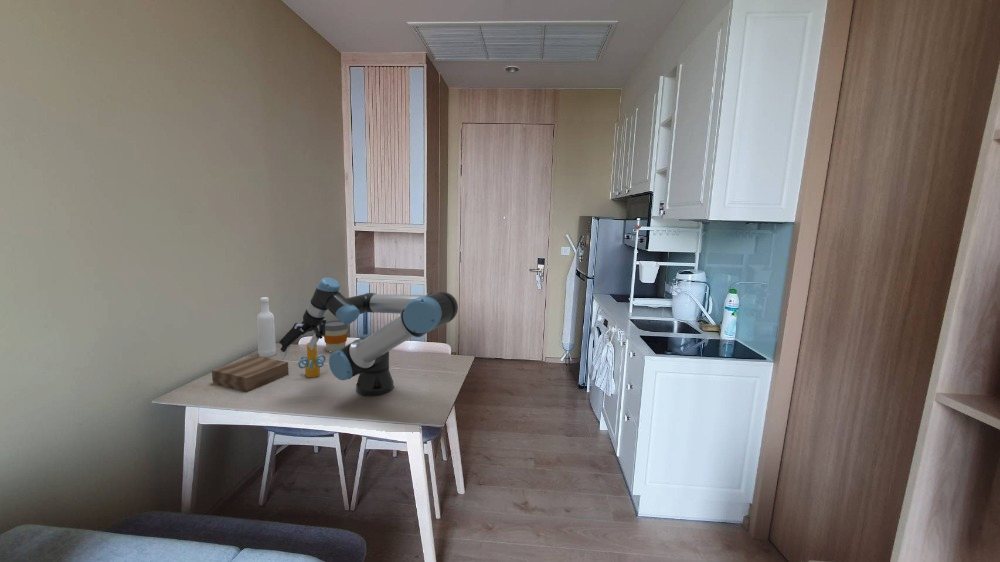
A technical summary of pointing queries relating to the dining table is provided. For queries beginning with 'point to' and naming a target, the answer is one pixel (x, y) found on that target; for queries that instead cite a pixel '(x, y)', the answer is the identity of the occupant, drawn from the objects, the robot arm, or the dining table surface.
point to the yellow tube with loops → (312, 362)
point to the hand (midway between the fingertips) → (296, 352)
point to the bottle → (266, 330)
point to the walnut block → (250, 373)
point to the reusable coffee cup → (335, 335)
